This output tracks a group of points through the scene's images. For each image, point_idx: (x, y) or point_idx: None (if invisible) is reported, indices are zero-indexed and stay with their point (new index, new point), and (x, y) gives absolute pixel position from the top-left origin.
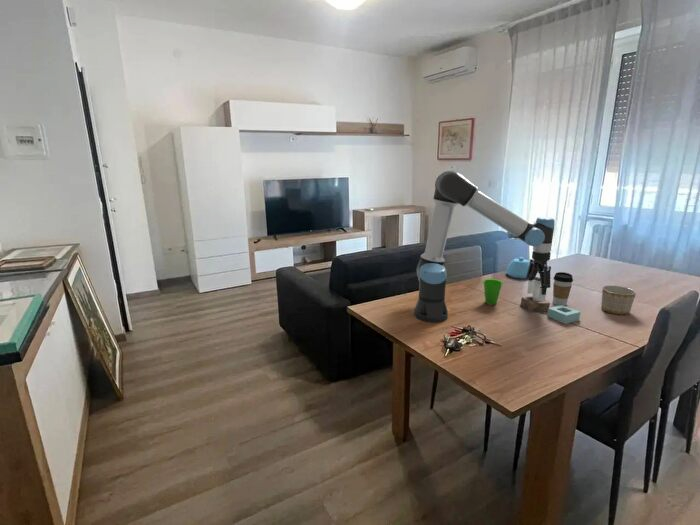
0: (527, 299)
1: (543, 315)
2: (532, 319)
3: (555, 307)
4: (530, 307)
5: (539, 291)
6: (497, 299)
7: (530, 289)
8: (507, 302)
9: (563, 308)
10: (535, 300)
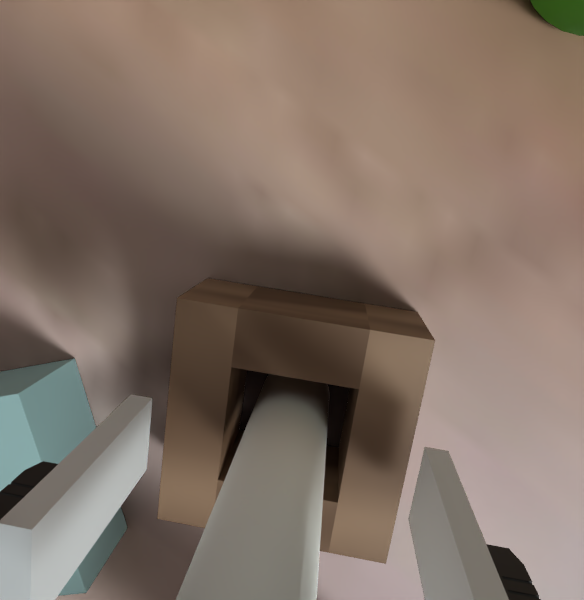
0: (320, 348)
1: (97, 339)
2: (20, 163)
3: None
4: (200, 287)
5: (85, 473)
6: (559, 7)
7: (431, 514)
8: (524, 197)
9: None
10: (253, 414)
